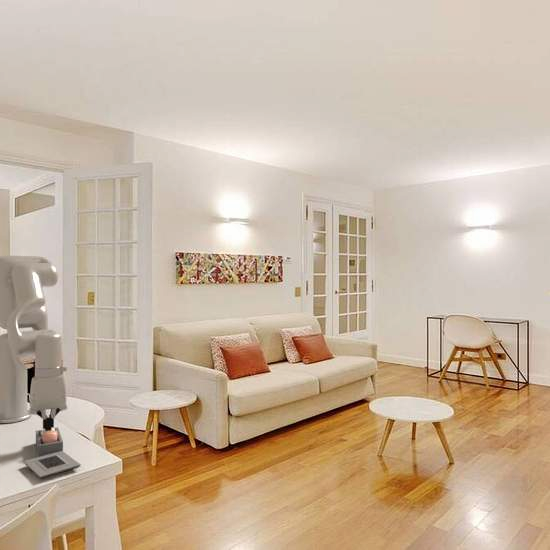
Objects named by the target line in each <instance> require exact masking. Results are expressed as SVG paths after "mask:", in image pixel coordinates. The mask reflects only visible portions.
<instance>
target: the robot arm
mask: <svg viewBox="0 0 550 550" xmlns="http://www.w3.org/2000/svg"><path fill="white" fill-rule="evenodd" d="M58 278H59V272H58V271H57V267H56V266H55V264H53V263H52V262H51V260H50V261H49V260H48V259H47V258H45V257H44V256H32V255H31V256H30V255H1V256H0V326H1V327H2V329H6V333H3V334H0V424H12V423H17V422H22V421H25V420H27V419H29V418H31V417H32V415H35V416H39V417H40V419H42V430H43V429H45V431H48V430H49V431H50V430H52V428H55V423H54V422H55V417H56V416H57V415H58V414H59V413H60V412H63V411H66V410H68V407H67V387H66V379H65V374H63V373H64V372H67V371H68V368H67V367H66V366H63V365H62V363H63V361H62V358H63V356H62V355H63V349H62V348H63V347H62V345H63V338H62V335H61V334H60V333H59V332H57V331H55V330H53V329H49V321H48V310H47V308H46V306H45V304H46V302H47V301H46V297H45V296H46V295H45V293H44V288H43V287H46V288H49V287H54V286H56V284H57V283H58V281H59V279H58ZM26 328H28V329H29V328H30V329H32V330H26V331H25V330H23V331H20V329H26ZM28 357H34V358H35V359H34V376H33V377H32V378H31V381H30V383H31V384H30V392H29V407H30V408H29V410H28V368H27V366H26V365H25V364H24V363H23V361H21V358H28ZM47 410H50V414H49V415H47Z"/></svg>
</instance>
